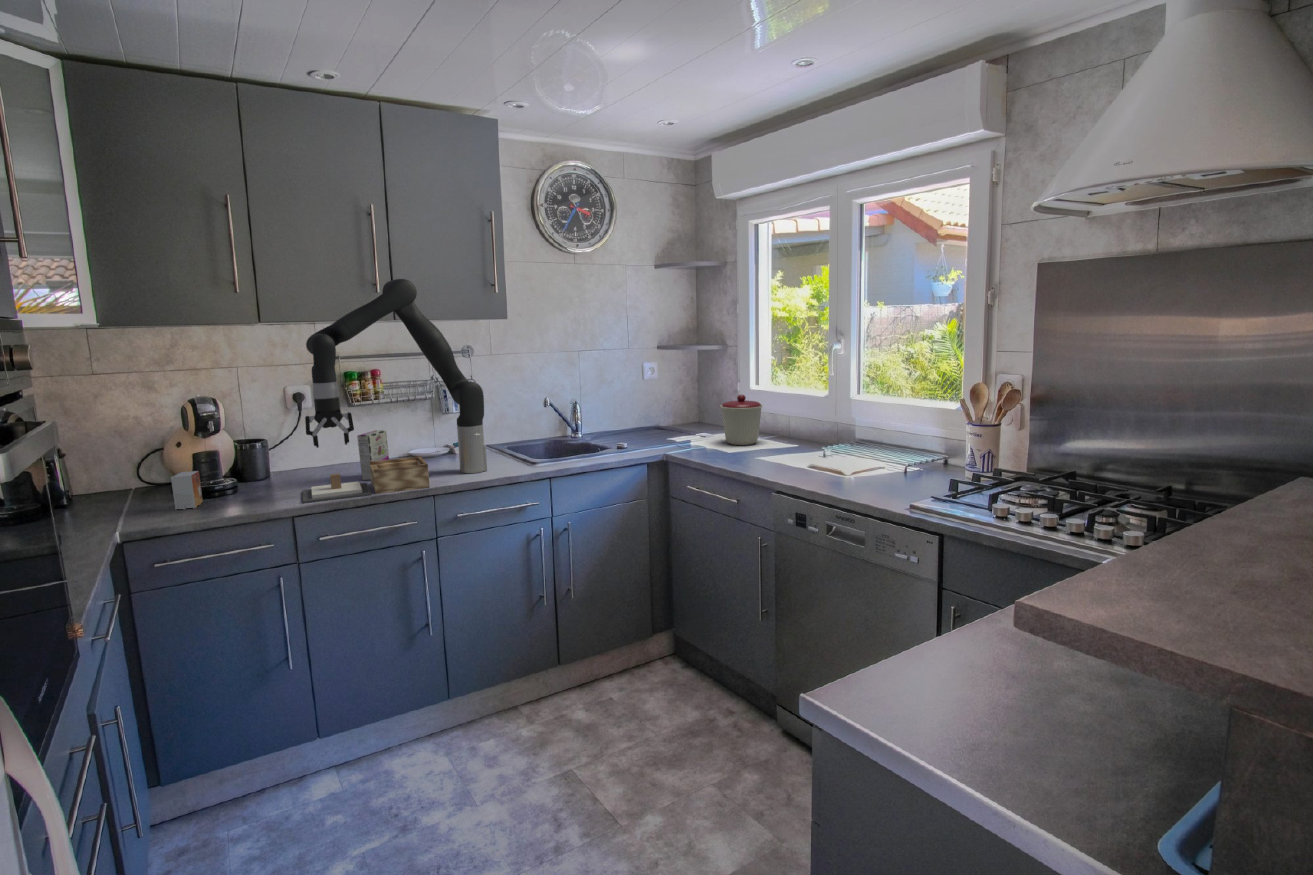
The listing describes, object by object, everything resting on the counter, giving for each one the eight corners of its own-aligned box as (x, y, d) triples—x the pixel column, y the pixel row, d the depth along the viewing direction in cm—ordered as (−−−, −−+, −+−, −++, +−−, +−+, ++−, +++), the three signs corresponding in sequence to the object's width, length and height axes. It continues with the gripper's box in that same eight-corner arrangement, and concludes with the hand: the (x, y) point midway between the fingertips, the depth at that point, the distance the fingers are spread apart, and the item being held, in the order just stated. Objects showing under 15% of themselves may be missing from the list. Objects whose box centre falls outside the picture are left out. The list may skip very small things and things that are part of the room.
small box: (195, 508, 225) (191, 475, 223) (175, 510, 223) (170, 477, 222) (203, 502, 233) (199, 470, 231) (183, 504, 231) (179, 471, 229)
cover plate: (359, 484, 249) (357, 468, 249) (362, 492, 238) (360, 475, 237) (311, 490, 243) (309, 473, 242) (312, 498, 231) (310, 481, 230)
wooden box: (422, 478, 260) (420, 456, 258) (429, 487, 245) (427, 464, 244) (371, 484, 252) (369, 461, 251) (375, 493, 238) (373, 469, 237)
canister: (770, 445, 307) (770, 395, 303) (730, 448, 302) (730, 397, 298) (751, 438, 324) (751, 391, 320) (714, 441, 319) (713, 393, 315)
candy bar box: (378, 473, 270) (374, 429, 267) (390, 473, 269) (387, 430, 266) (360, 480, 259) (356, 434, 257) (373, 480, 258) (369, 435, 256)
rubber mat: (366, 484, 253) (366, 482, 253) (371, 495, 237) (371, 493, 237) (302, 491, 244) (302, 489, 244) (302, 503, 228) (302, 501, 228)
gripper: (349, 393, 241) (354, 441, 244) (301, 397, 235) (307, 446, 238) (350, 395, 235) (356, 445, 238) (301, 399, 229) (307, 450, 232)
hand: (331, 445), depth 238 cm, fingers open, 8 cm apart
